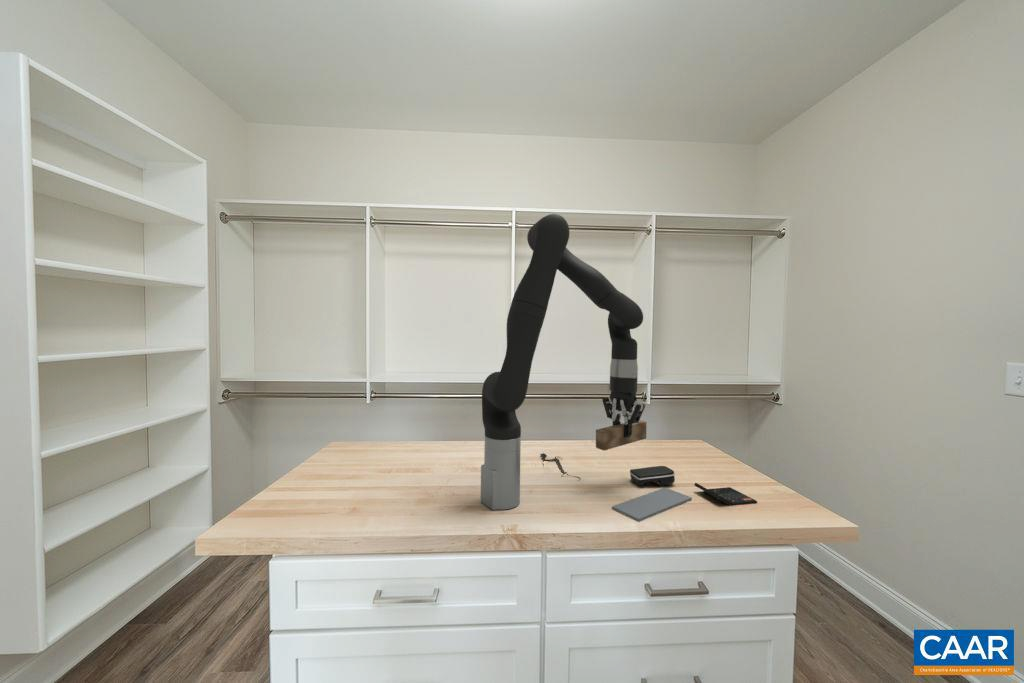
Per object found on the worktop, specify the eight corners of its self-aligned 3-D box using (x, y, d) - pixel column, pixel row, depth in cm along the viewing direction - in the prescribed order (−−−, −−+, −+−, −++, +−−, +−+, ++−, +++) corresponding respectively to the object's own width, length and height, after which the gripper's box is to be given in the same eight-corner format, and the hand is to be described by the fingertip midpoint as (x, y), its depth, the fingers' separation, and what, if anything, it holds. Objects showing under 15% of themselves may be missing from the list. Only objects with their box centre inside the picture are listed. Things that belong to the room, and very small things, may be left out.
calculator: (757, 504, 103) (757, 492, 103) (718, 508, 100) (718, 496, 100) (729, 490, 112) (730, 479, 112) (693, 493, 109) (694, 482, 109)
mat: (638, 521, 92) (638, 519, 92) (611, 508, 98) (611, 506, 98) (691, 499, 104) (691, 497, 104) (664, 489, 111) (665, 487, 111)
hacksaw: (539, 456, 140) (539, 452, 140) (568, 456, 140) (568, 452, 140) (547, 482, 116) (547, 477, 116) (581, 482, 116) (582, 477, 116)
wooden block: (604, 450, 106) (604, 432, 105) (595, 447, 108) (595, 429, 108) (646, 438, 116) (646, 421, 116) (637, 436, 118) (637, 419, 118)
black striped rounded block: (640, 490, 111) (678, 485, 113) (638, 476, 111) (676, 471, 113) (629, 481, 118) (665, 477, 120) (628, 469, 118) (664, 464, 120)
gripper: (595, 373, 115) (594, 432, 115) (635, 378, 104) (633, 443, 104) (613, 372, 119) (611, 429, 120) (653, 377, 108) (651, 439, 108)
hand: (621, 435), depth 112 cm, fingers closed on wooden block, 3 cm apart
